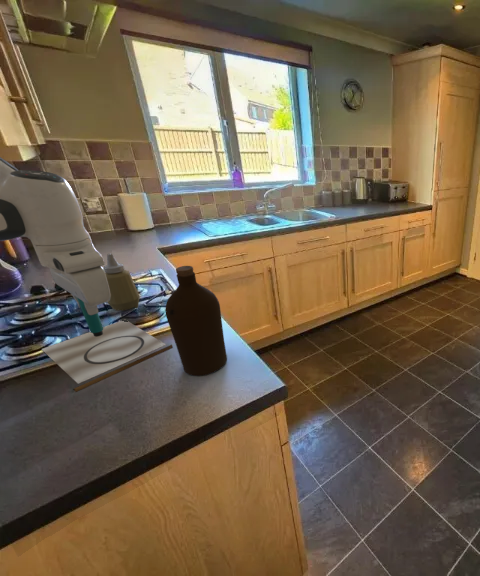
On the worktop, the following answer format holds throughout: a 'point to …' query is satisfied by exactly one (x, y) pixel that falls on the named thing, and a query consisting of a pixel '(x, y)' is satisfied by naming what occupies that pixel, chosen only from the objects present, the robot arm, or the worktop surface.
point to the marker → (92, 321)
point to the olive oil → (196, 325)
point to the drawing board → (103, 352)
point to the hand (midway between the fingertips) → (89, 311)
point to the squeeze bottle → (120, 286)
